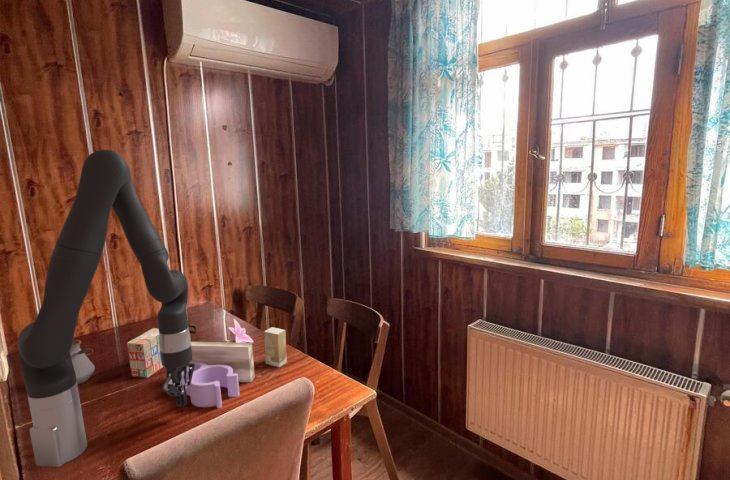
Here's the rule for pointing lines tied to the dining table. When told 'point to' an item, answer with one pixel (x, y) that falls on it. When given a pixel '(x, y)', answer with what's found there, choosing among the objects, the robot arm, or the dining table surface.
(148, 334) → the stack of blocks
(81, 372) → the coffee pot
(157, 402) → the dining table surface
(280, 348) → the skincare box
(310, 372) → the dining table surface
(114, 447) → the dining table surface
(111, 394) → the dining table surface
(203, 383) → the clip
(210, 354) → the board
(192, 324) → the pottery mug
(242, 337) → the lily
